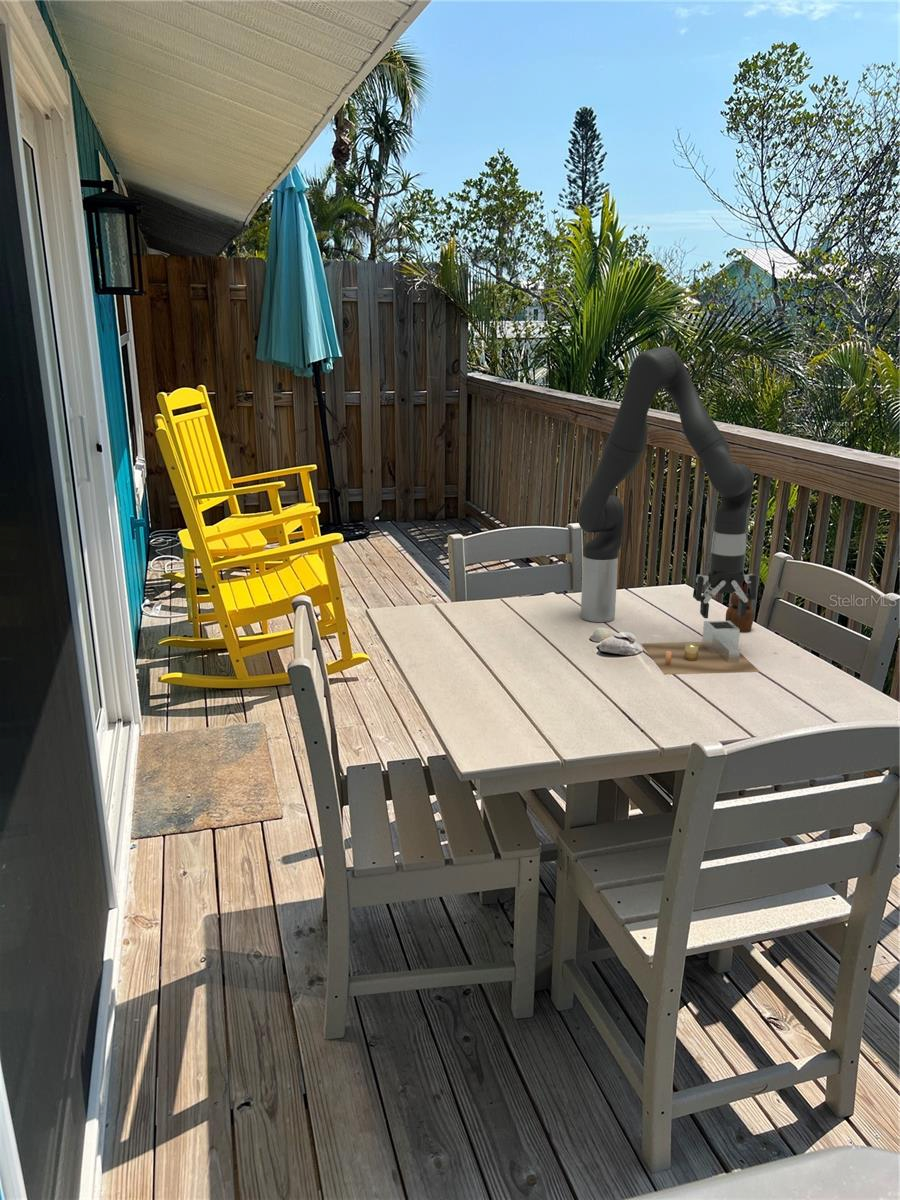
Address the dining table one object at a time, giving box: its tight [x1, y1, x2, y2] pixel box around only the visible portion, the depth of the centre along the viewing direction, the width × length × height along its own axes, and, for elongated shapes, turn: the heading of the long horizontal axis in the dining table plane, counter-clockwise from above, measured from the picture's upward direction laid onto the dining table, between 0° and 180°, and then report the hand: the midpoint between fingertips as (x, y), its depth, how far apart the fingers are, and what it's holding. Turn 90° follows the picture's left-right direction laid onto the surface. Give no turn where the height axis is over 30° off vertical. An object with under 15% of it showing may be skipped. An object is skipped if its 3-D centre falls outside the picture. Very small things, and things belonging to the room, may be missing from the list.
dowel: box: [665, 651, 672, 665], centre depth 204 cm, size 1×1×3 cm
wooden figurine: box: [725, 581, 755, 633], centre depth 226 cm, size 7×6×15 cm
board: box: [640, 641, 761, 676], centre depth 209 cm, size 20×22×2 cm
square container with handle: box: [701, 620, 741, 663], centre depth 210 cm, size 12×6×6 cm, turn 4°
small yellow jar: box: [684, 641, 699, 661], centre depth 207 cm, size 3×3×4 cm
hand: (722, 616), depth 211 cm, fingers open, 8 cm apart
